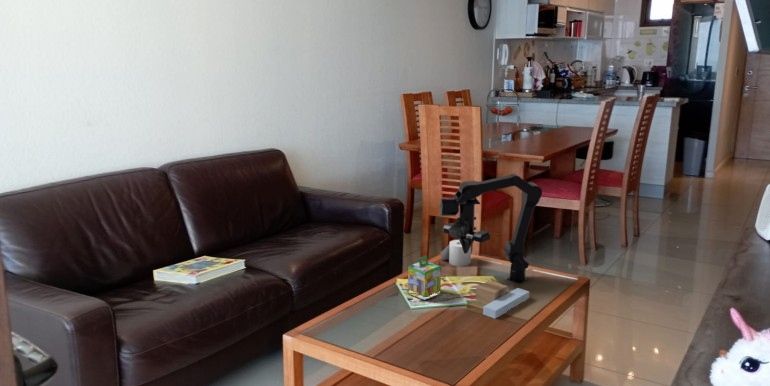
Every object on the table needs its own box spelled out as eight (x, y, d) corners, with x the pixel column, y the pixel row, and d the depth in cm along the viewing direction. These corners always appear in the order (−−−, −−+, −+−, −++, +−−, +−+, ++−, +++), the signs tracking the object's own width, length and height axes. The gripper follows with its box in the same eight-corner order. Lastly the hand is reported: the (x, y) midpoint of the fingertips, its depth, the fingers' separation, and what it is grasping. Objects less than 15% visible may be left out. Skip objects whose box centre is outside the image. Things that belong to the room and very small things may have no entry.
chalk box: (425, 301, 231) (425, 264, 227) (407, 294, 237) (407, 257, 233) (441, 294, 237) (442, 257, 233) (423, 287, 244) (423, 251, 240)
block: (488, 295, 237) (488, 280, 235) (506, 301, 231) (507, 286, 230) (475, 301, 231) (476, 286, 230) (494, 308, 226) (495, 292, 224)
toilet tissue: (437, 259, 272) (438, 241, 270) (467, 257, 274) (468, 239, 272) (443, 267, 264) (443, 248, 261) (473, 265, 266) (474, 246, 264)
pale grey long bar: (517, 295, 236) (517, 287, 235) (528, 299, 233) (529, 291, 232) (483, 314, 221) (483, 306, 220) (495, 318, 217) (495, 310, 217)
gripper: (434, 214, 242) (433, 252, 246) (474, 224, 230) (473, 264, 234) (452, 208, 250) (451, 245, 254) (491, 218, 237) (490, 257, 241)
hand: (465, 253), depth 246 cm, fingers closed
